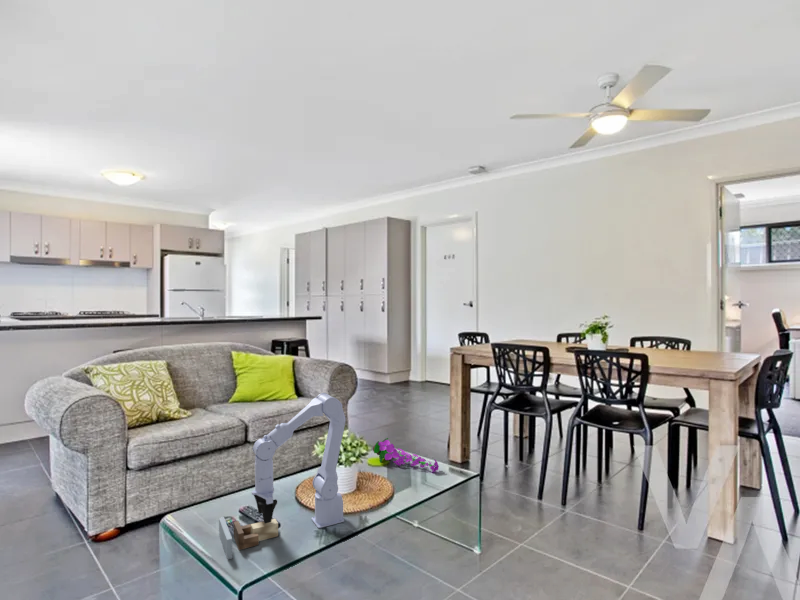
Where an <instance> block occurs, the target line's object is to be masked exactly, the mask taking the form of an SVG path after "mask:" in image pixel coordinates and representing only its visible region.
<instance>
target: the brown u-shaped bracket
mask: <svg viewBox="0 0 800 600" xmlns="http://www.w3.org/2000/svg"><path fill="white" fill-rule="evenodd" d="M251 524H252V523H250V524H245V525H241V524H240V521H239V520H236V521H233V540H234V542H235V545H236V546H237V547H236V548H237V549H238V551H241V550H245V549H247V548H251V547H253V548H254V547H257V546H259V544H260V543H259V542H260V541H259V537H258V534H257V533H254V534H251Z"/></svg>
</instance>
